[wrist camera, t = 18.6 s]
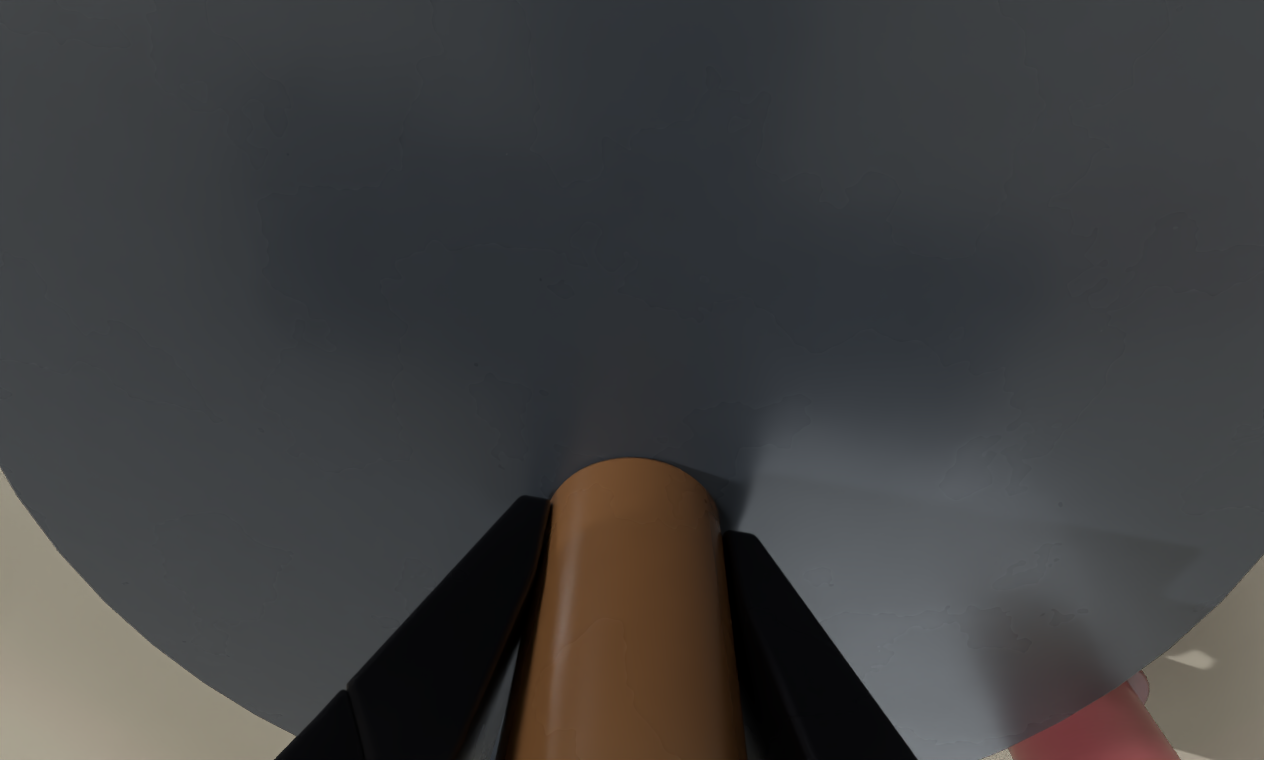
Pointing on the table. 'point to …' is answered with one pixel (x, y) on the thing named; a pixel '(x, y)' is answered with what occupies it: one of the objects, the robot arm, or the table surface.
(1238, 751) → the table surface
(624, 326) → the lid
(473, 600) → the robot arm
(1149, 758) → the doll
